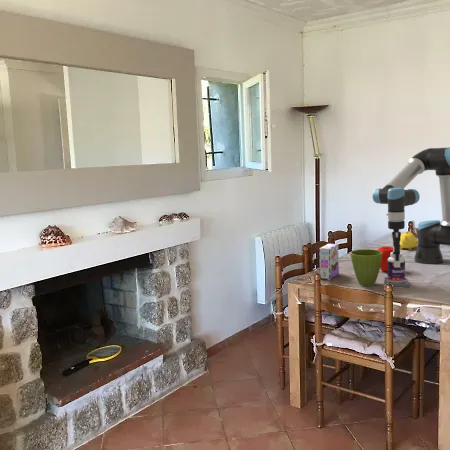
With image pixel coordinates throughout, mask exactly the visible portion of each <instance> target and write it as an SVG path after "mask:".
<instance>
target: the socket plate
mask: <svg viewBox="0 0 450 450" xmlns="http://www.w3.org/2000/svg"><path fill="white" fill-rule="evenodd" d="M387 277H388V276H384V277H383V284H384V285H385V284H387V283H389V284H392V285H393V287H392V288H395V287H406V288H405V289H409V287H410V286H409V284H410V283H409V280H408V279H409V278H408V277H405V281H404V282H403V283H391V282H389V281H388V278H387ZM384 285H383V286H384ZM407 287H408V288H407Z"/></svg>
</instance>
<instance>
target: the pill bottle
mask: <svg viewBox="0 0 450 450" xmlns="http://www.w3.org/2000/svg"><path fill="white" fill-rule="evenodd" d="M390 256H391V257H389V258H388V271H387V276H386V277H387V278H388V281H389V282H391V283H403V282H404V281H405V278H406V259H405V258H404V257H403V252H401V251H400V267H394V254H393V252H391V253H390Z"/></svg>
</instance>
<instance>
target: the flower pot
mask: <svg viewBox="0 0 450 450" xmlns="http://www.w3.org/2000/svg"><path fill="white" fill-rule="evenodd" d="M350 258H351V264H352V267H353V271H354V274H355V278H356V280H357V282H358V285H360V286H362V287H372V286H374V285H376V283H377V282H376V281H377V280H378V276H379V274H380V270H381V269H380V265H381V259H382V252H381V251H378V249H377V250H376V249H369V248H368V249H355V250H351V251H350Z"/></svg>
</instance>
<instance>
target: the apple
mask: <svg viewBox="0 0 450 450" xmlns="http://www.w3.org/2000/svg"><path fill="white" fill-rule="evenodd" d="M393 247H394V246H381V247H378V248H377V250H378V251H381V252H382V259H381V265H380V270H381V271H382V272H388V258H389V257H391V256H390V253H391V252H393Z"/></svg>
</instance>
